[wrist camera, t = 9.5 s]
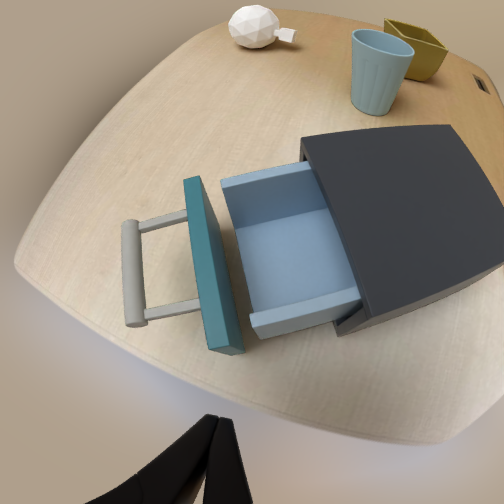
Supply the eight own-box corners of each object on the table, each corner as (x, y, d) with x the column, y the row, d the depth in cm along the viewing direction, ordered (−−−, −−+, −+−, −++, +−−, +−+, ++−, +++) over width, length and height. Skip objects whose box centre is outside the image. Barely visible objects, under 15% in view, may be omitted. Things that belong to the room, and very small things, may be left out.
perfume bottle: (216, 47, 39) (282, 60, 37) (222, 1, 31) (293, 12, 30) (237, 42, 44) (295, 55, 42) (244, 2, 36) (305, 13, 35)
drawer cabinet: (337, 337, 21) (372, 317, 13) (295, 205, 26) (300, 137, 18) (466, 287, 21) (523, 250, 13) (418, 181, 26) (449, 124, 18)
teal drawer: (171, 366, 21) (125, 362, 14) (156, 240, 25) (119, 196, 18) (392, 310, 21) (435, 283, 14) (347, 195, 25) (364, 140, 19)
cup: (405, 122, 30) (426, 59, 21) (355, 122, 31) (368, 51, 21) (382, 90, 33) (395, 32, 24) (336, 89, 34) (342, 26, 24)
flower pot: (417, 65, 37) (427, 28, 29) (435, 90, 34) (450, 50, 25) (376, 57, 38) (383, 17, 30) (391, 81, 34) (402, 36, 26)
